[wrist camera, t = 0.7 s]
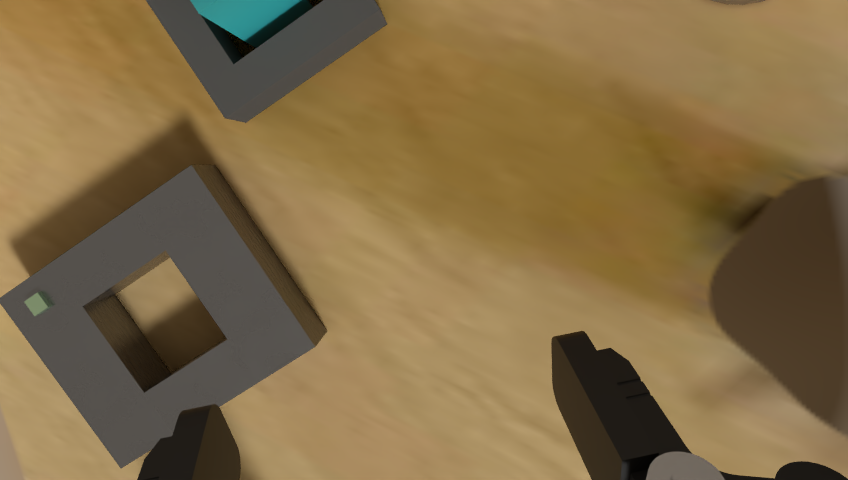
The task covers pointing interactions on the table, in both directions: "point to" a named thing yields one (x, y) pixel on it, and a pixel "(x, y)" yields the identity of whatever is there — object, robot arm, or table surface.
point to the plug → (252, 16)
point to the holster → (266, 51)
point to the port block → (123, 341)
